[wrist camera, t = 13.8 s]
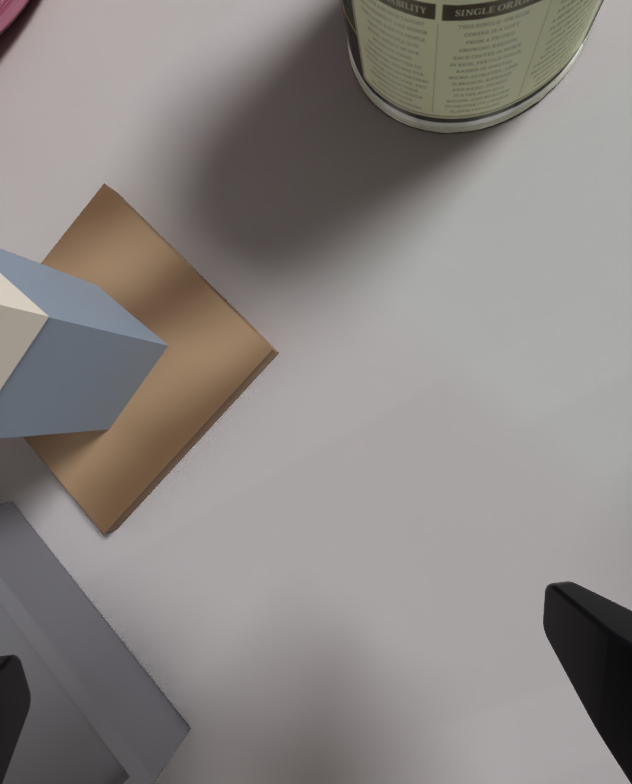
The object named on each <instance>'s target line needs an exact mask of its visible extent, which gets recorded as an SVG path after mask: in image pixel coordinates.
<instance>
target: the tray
mask: <svg viewBox="0 0 632 784" xmlns="http://www.w3.org/2000/svg"><path fill="white" fill-rule="evenodd" d="M5 655H17V656H18V657H19V658H20V659H21V662H22V665H23V669H24V672H25V675H26V679H27V682H28V685H29V689H30V693H31V704H30V709H29V712H28V715H27V718H26V720H25V723H24V726H23V729H22V731H21V734H20V737H19V740H18V742H17V745H16V748H15V751H14V753H13V756H12V759H11V762H10V764H9V767H8V770H7V773H6V775H5V778H4V781H3V784H152V783H153V782H154V781H155V780H156V778H157V777H158V776H159V774H160V773H161V771H162V770H163V768H164V767H165V765H166V764H167V762H168V761H169V760H170V758H171V757H172V755H173V754H174V752H175V751H176V749H177V748H178V746H179V745H180V743H181V742H182V741H183V739H184V738H185V736H186V735H187V733H188V732H189V730H190V729H191V728H190V727H189V726H188V724H187V723H186V722H185V720H184V719H183V718H182V717H181V715H180V714H179V713H178V712H177V710H176V709H175V708H174V707H173V705H172V704H171V703H170V701H169V700H168V699H167V698H166V696H165V695H164V694H163V693H162V691H161V690H160V689H159V687H158V686H157V685H156V684H155V682H154V681H153V680H152V679H151V677H150V676H149V675H148V674H147V672H146V671H145V670H144V668H143V667H142V666H141V665H140V663H139V662H138V661H137V660H136V658H135V657H134V656H133V655H132V653H131V652H130V651H129V649H128V648H127V647H126V646H125V644H124V643H123V642H122V641H121V639H120V638H119V637H118V636H117V634H116V633H115V632H114V630H113V629H112V628H111V627H110V625H109V624H108V623H107V622H106V620H105V619H104V618H103V616H102V615H101V614H100V613H99V611H98V610H97V609H96V608H95V606H94V605H93V604H92V603H91V601H90V600H89V599H88V597H87V596H86V595H85V594H84V592H83V591H82V590H81V589H80V587H79V586H78V585H77V584H76V582H75V581H74V580H73V578H72V577H71V576H70V575H69V573H68V572H67V571H66V570H65V568H64V567H63V566H62V565H61V563H60V562H59V561H58V559H57V558H56V557H55V556H54V554H53V553H52V552H51V551H50V549H49V548H48V547H47V546H46V544H45V543H44V542H43V540H42V539H41V538H40V537H39V535H38V534H37V533H36V532H35V530H34V529H33V528H32V526H31V525H30V524H29V523H28V521H27V520H26V519H25V518H24V516H23V515H22V514H21V513H20V511H19V510H18V509H17V507H16V506H15V505H14V504H13V502H12V501H11V502H7V503H3V504H0V656H5Z"/></svg>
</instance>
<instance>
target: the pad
mask: <svg viewBox="0 0 632 784" xmlns="http://www.w3.org/2000/svg"><path fill="white" fill-rule="evenodd" d="M41 264H43V265H45V266H48V267H51V268H53V269H56V270H58V271H61V272H64V273H66V274H69V275H72V276H74V277H77V278H80V279H82V280H85V281H88V282H90V283H93V284H96V285H97V286H98V287H99V288H101V289H102V290H103V291H104V292H105V293H107V294H108V295H109V296H110V297H111V298H113V299H114V300H115V301H116V302H117V303H118V304H120V305H121V306H122V307H123V308H124V309H126V310H127V311H128V312H129V313H130V314H131V315H133V316H134V317H135V318H136V319H137V320H139V321H140V322H141V323H142V324H143V325H145V326H146V327H147V328H148V329H149V330H150V331H152V332H153V333H154V334H155V335H156V336H158V337H159V338H160V339H161V340H162V341H164V342H165V343H166V344H167V345H168V347H167V349H166V350H165V351H164V353H163V354H162V356H161V357H160V358H159V360H158V361H157V363H156V364H155V366H154V367H153V368H152V370H151V371H150V373H149V374H148V375H147V377H146V378H145V380H144V381H143V382H142V384H141V385H140V387H139V388H138V390H137V391H136V392H135V394H134V395H133V397H132V398H131V399H130V401H129V402H128V404H127V405H126V406H125V408H124V409H123V411H122V412H121V413H120V415H119V416H118V418H117V419H116V421H115V422H114V423H113V425H112V426H111V428H110V429H107V430H96V431H84V432H72V433H60V434H48V435H36V436H24V438H25V439H26V441H27V442H28V443H29V444H30V446H31V447H32V448H33V449H34V450H35V452H36V453H37V454H38V455H39V456H40V458H41V459H42V460H43V461H44V463H45V464H46V465H47V466H48V467H49V469H50V470H51V471H52V472H53V473H54V475H55V476H56V477H57V478H58V480H59V481H60V482H61V483H62V484H63V486H64V487H65V488H66V489H67V490H68V492H69V493H70V494H71V495H72V497H73V498H74V499H75V500H76V501H77V503H78V504H79V505H80V506H81V507H82V509H83V510H84V511H85V512H86V514H87V515H88V516H89V517H90V518H91V520H92V521H93V522H94V523H95V525H96V526H97V527H98V528H99V529H100V531H101V532H102V533H103V534H106V533H108V532H110V531H113V530H115V529H117V528H118V527H119V526H120V525H121V524H122V523H123V522H124V521H125V520H126V519H127V518H128V516H129V515H130V514H131V513H132V512H133V511H134V510H135V509H136V508H137V507H138V506H139V504H140V503H141V502H142V501H143V500H144V499H145V498H146V497H147V496H148V495H149V494H150V492H151V491H152V490H153V489H154V488H155V487H156V486H157V485H158V484H159V483H160V482H161V480H162V479H163V478H164V477H165V476H166V475H167V474H168V473H169V472H170V471H171V470H172V468H173V467H174V466H175V465H176V464H177V463H178V462H179V461H180V460H181V459H182V458H183V456H184V455H185V454H186V453H187V452H188V451H189V450H190V449H191V448H192V447H193V446H194V444H195V443H196V442H197V441H198V440H199V439H200V438H201V437H202V436H203V435H204V434H205V433H206V431H207V430H208V429H209V428H210V427H211V426H212V425H213V424H214V423H215V422H216V421H217V419H218V418H219V417H220V416H221V415H222V414H223V413H224V412H225V411H226V410H227V409H228V407H229V406H230V405H231V404H232V403H233V402H234V401H235V400H236V399H237V398H238V397H239V395H240V394H241V393H242V392H243V391H244V390H245V389H246V388H247V387H248V386H249V385H250V383H251V382H252V381H253V380H254V379H255V378H256V377H257V376H258V375H259V374H260V373H261V371H262V370H263V369H264V368H265V367H266V366H267V365H268V364H269V363H270V362H271V361H272V359H273V358H274V357H275V356H276V355H277V354H278V353H279V352H278V351H277V350H276V349H275V348H274V347H273V346H272V345H271V344H270V343H268V342H267V341H266V340H265V339H264V338H263V337H262V336H261V335H260V334H259V333H258V332H257V331H256V330H255V329H254V328H253V327H252V326H251V325H250V324H249V323H248V322H247V321H246V320H245V319H244V318H243V317H242V316H241V315H240V314H239V313H238V312H237V311H236V310H235V309H234V308H233V307H232V306H231V305H230V304H229V303H228V302H227V301H226V300H225V299H224V298H223V297H222V296H221V295H220V294H219V293H218V292H217V291H216V290H215V289H214V288H213V287H212V286H211V285H210V284H209V283H208V282H207V281H206V280H205V279H204V278H203V277H202V276H201V275H200V274H199V273H198V272H197V271H196V270H195V269H194V268H193V267H192V266H191V265H190V264H189V263H188V262H187V261H186V260H185V259H184V258H183V257H182V256H181V255H180V254H179V253H178V252H177V251H176V250H175V249H174V248H173V247H172V246H171V245H170V244H169V243H168V242H167V241H166V240H165V239H164V238H163V237H161V236H160V235H159V234H158V233H157V232H156V231H155V230H154V229H153V228H152V227H151V226H150V225H149V224H148V223H147V222H146V221H145V220H144V219H143V218H142V217H141V216H140V215H139V214H138V213H137V212H136V211H135V210H134V209H133V208H132V207H131V206H130V205H129V204H128V203H127V202H126V201H125V200H124V199H123V198H122V197H121V196H120V195H119V194H118V193H117V192H115V191H114V190H113V189H111V188H110V187H108V186H107V185H106V184H104V185H103V186H102V187H101V188H100V190H99V191H98V192H97V193H96V195H95V196H94V197H93V198H92V200H91V201H90V202H89V203H88V205H87V206H86V207H85V208H84V210H83V211H82V212H81V214H80V215H79V216H78V217H77V219H76V220H75V221H74V222H73V224H72V225H71V226H70V227H69V229H68V230H67V231H66V232H65V234H64V235H63V236H62V237H61V239H60V240H59V241H58V243H57V244H56V245H55V246H54V248H53V249H52V250H51V251H50V253H49V254H48V255H47V256H46V258H45V259H44V260H43V261H42V263H41Z"/></svg>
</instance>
